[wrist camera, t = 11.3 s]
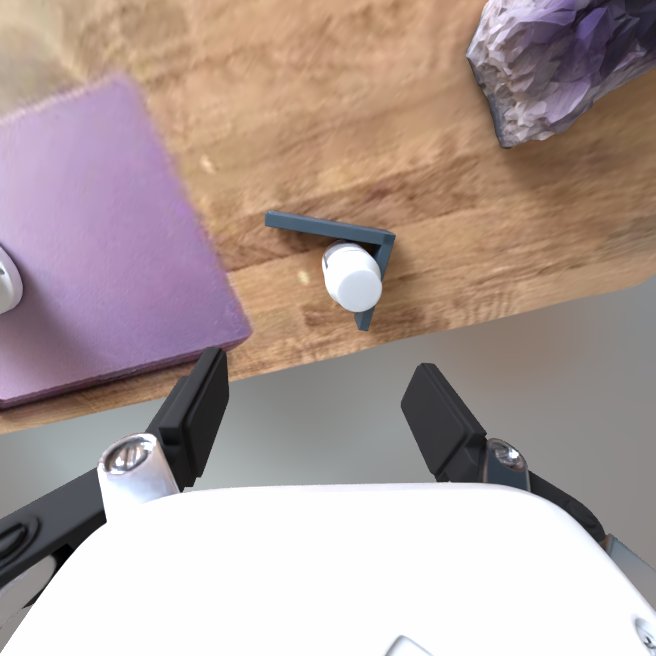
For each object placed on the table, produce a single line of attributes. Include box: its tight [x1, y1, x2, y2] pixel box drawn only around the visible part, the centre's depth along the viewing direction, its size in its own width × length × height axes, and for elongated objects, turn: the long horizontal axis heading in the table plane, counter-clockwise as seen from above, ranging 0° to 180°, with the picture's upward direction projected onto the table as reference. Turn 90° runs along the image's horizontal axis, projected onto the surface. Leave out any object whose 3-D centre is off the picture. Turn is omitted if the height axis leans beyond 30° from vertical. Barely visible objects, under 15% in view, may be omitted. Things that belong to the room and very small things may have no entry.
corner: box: [265, 210, 396, 331], centre depth 27 cm, size 13×12×3 cm
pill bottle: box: [322, 239, 382, 312], centre depth 24 cm, size 5×5×10 cm
